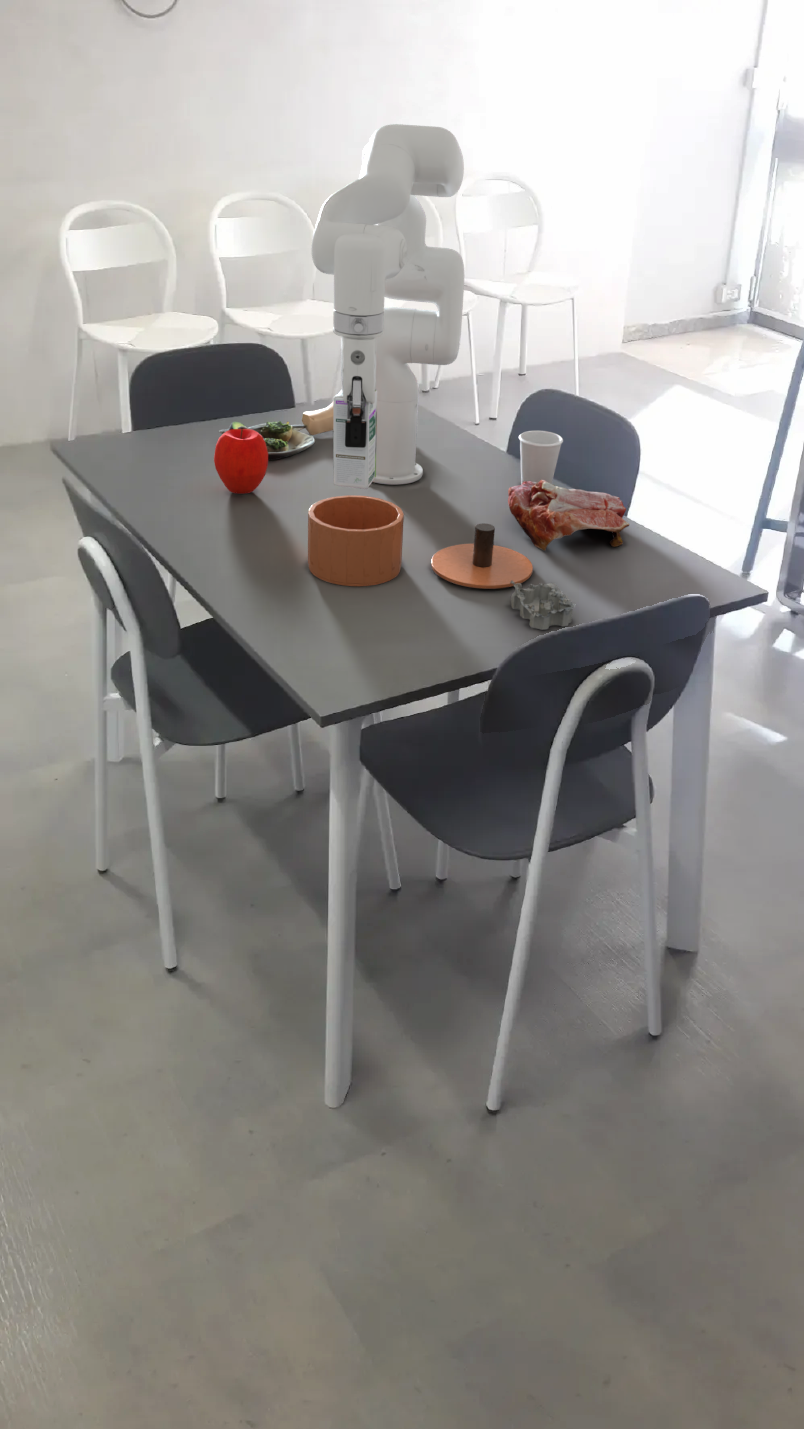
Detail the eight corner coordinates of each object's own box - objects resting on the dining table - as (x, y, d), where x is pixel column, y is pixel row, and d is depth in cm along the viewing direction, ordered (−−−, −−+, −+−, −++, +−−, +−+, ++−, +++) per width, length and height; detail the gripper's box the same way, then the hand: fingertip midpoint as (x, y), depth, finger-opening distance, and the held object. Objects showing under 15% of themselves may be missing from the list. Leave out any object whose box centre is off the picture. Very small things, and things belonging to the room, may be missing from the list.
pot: (309, 546, 214) (309, 494, 209) (399, 549, 215) (402, 496, 210) (306, 585, 201) (306, 529, 196) (402, 587, 202) (405, 532, 197)
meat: (560, 500, 238) (566, 449, 233) (650, 535, 225) (658, 482, 220) (483, 526, 226) (488, 472, 220) (574, 565, 213) (581, 509, 207)
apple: (234, 506, 228) (232, 441, 222) (204, 489, 235) (201, 426, 228) (279, 494, 234) (278, 430, 228) (248, 479, 240) (246, 416, 234)
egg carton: (505, 602, 199) (507, 579, 197) (549, 598, 201) (551, 574, 199) (531, 632, 190) (534, 608, 188) (577, 627, 192) (580, 603, 190)
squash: (402, 434, 268) (404, 396, 262) (317, 454, 261) (316, 416, 255) (379, 410, 275) (380, 373, 269) (295, 430, 268) (294, 391, 262)
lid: (428, 548, 216) (430, 506, 212) (525, 551, 217) (530, 509, 213) (433, 590, 201) (436, 546, 197) (538, 593, 202) (542, 549, 198)
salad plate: (280, 423, 269) (280, 402, 267) (336, 446, 259) (336, 424, 256) (207, 441, 257) (206, 419, 255) (262, 466, 247) (262, 443, 244)
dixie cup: (506, 482, 245) (511, 432, 240) (544, 478, 248) (549, 428, 243) (527, 497, 238) (532, 446, 233) (565, 493, 241) (571, 442, 236)
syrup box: (368, 490, 198) (371, 398, 190) (331, 485, 199) (333, 394, 191) (376, 477, 203) (379, 388, 195) (340, 473, 204) (342, 384, 196)
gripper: (384, 338, 181) (380, 458, 190) (382, 309, 195) (378, 422, 205) (332, 336, 180) (330, 457, 189) (334, 307, 195) (332, 420, 204)
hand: (355, 438), depth 197 cm, fingers closed on syrup box, 6 cm apart
